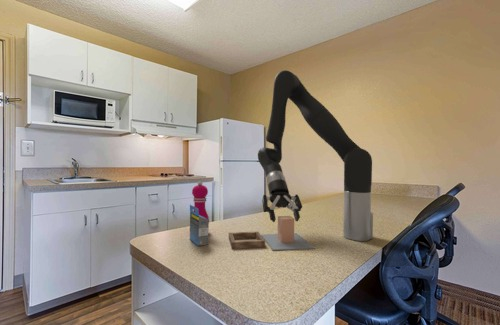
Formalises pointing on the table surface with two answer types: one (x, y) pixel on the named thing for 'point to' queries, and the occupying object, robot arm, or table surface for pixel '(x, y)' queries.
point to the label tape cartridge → (198, 227)
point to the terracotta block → (285, 229)
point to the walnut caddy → (246, 244)
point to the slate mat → (286, 243)
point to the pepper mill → (200, 199)
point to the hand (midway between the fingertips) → (286, 220)
